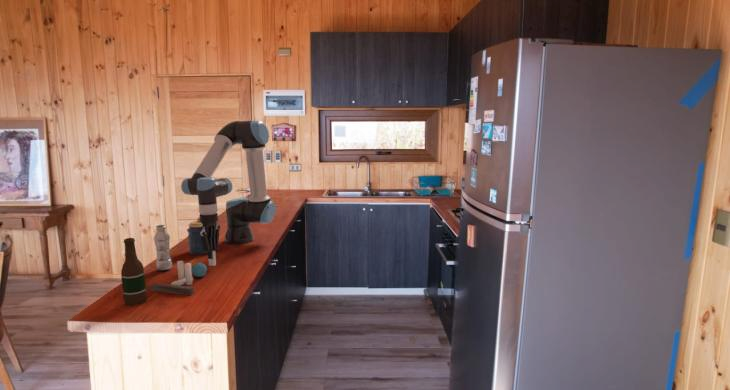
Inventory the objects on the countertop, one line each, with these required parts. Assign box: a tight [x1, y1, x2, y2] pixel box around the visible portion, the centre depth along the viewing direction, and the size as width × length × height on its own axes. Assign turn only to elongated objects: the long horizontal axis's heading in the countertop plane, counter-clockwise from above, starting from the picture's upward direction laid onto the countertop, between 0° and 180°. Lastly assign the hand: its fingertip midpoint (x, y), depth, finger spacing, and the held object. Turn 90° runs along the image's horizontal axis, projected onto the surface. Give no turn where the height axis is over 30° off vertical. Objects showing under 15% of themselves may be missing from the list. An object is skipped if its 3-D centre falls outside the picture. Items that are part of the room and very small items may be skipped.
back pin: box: [176, 260, 186, 280], centre depth 182 cm, size 2×2×8 cm
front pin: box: [170, 276, 194, 286], centre depth 180 cm, size 2×2×8 cm
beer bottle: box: [120, 237, 147, 307], centre depth 160 cm, size 8×8×24 cm
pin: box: [183, 262, 193, 286], centre depth 179 cm, size 2×2×8 cm
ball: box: [191, 262, 208, 278], centre depth 187 cm, size 6×6×6 cm
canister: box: [186, 216, 208, 256], centre depth 223 cm, size 13×13×18 cm
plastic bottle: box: [153, 224, 173, 271], centre depth 196 cm, size 6×7×20 cm
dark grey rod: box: [150, 282, 195, 296], centre depth 171 cm, size 2×18×2 cm, turn 75°
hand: (212, 265), depth 197 cm, fingers closed
